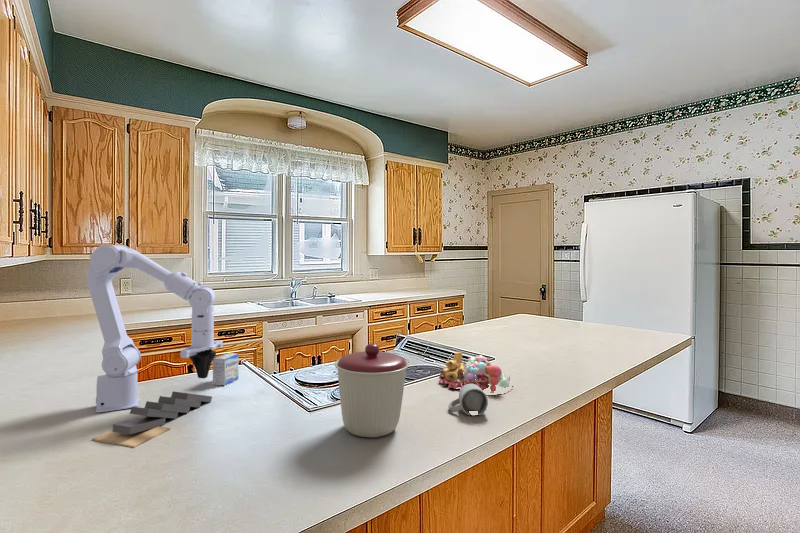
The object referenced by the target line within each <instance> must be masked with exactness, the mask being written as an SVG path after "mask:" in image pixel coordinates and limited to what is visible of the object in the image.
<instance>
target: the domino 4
mask: <svg viewBox="0 0 800 533" xmlns="http://www.w3.org/2000/svg"><path fill="white" fill-rule="evenodd" d="M157 403H165V404H173V405H181V406H188V407H190V408H197V409H198V408H200V407H201V404H202V401H194V400H186V399H179V398H171V396H170V397H169V396H161V395H160V396H159V398H158V401H157Z"/></svg>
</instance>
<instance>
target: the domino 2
mask: <svg viewBox="0 0 800 533" xmlns="http://www.w3.org/2000/svg"><path fill="white" fill-rule="evenodd" d="M129 414H130V415H136V416H142V417H145V416H150V417H163V418H166V419H177V418H178V414H179V412H173V411H163V410H155V409H148V408H145V407H140V406H139V407H132V408H130V411H129Z"/></svg>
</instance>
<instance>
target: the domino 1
mask: <svg viewBox="0 0 800 533" xmlns="http://www.w3.org/2000/svg"><path fill="white" fill-rule="evenodd" d="M166 419H167V418H163V417H150V416H142V417H138V418H134V419H130V420H129V419H128V420H126V421H121V422H118V423H115V424H112V425H113V427H112V430H113V432H117V433H123V434H129V435H130V434H134V433H137V432H141V431H144V430H147V429H151V428H154V427H158V426H159V427H162V426H165V425H166Z"/></svg>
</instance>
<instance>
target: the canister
mask: <svg viewBox="0 0 800 533" xmlns="http://www.w3.org/2000/svg"><path fill="white" fill-rule="evenodd" d="M409 366H410V363H409V361H408V360H407V359H405V358H403V357H402V356H400V355H398V354H395V353H392V352H387V351H380V346H379V345H377V343H368V344H366V346H365V348H364V351H357V352H350V353H348V354H344V355H343V356H342V357H340V358H339V359H337V360H336V361H335V362H334V368H336V369H337V379H338V380H337V381H338V391H339V400H340V409H341V416H342V418H341V419H342V422H343V425H344V427H345V429H346V430H347V431H348V432H349V433H351V434H352V435H354V436H357V437H361V438H379V437H384V436H386V435H387V436H388V435H389V434H391V433H392V432H394V431H395V430H396V428H397V426H398V424H399V421H400V417H401V411H402V405H403V404H402V403H403V398H404V397H403V396H404V388H405V382H406V381H405V380H406V372H407V369H408V368H409Z"/></svg>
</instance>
